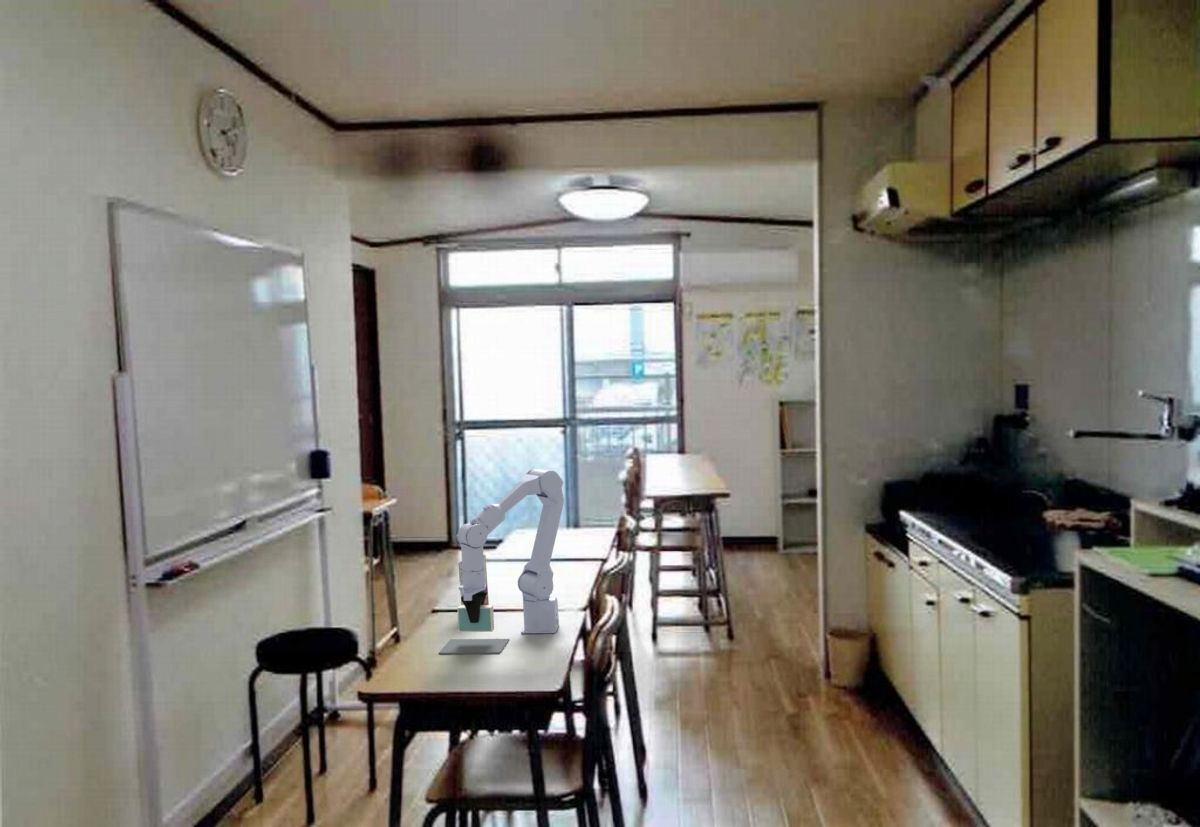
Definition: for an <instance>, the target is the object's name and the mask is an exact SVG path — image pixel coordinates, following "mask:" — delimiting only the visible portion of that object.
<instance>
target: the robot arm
mask: <svg viewBox="0 0 1200 827" xmlns="http://www.w3.org/2000/svg"><path fill="white" fill-rule="evenodd" d="M563 484H564V481H563V479H562V478H561V476H560V475H559V474H558V472H557V471H554V470H547V469H540V468H535V467H534V468H530V469H529V470H528V471H527V472H526V473H524V474H523V475H522V476H521V477H520V479H519V481H518V482H517V483H516V484H515V485H514V486H513V487H511V489H510V490H509V491H508V492H507V493H506V494H505V495H504V496H502V498H500V500H499V501H498V502H497V503H489V504H486V505H484V506H483V507H482V509H483V510H481V512H479V513H478V514H477V515H476V516H475V517H472V518H471V519H470V520H469V521H470V522H467V523H464V524H462V525H461V526H460V528H459V529H458V531H457V534H456V535H455V536H456V539H457V542H458V543H459V544H460V549H461V550H460V551H461V552H460V553H461V561H462V574H463V585H462V586H460V585H459V586H458V591H459V590H463V592H464V593H463V596H462V597H461V596H460V600H462V602H463V604H464V605H465V608H466V610H467V613H468V617H469V620H470V623H478V622H479V616H480V607H481V605H484V601H485V598H486V595H487V593H488V594H489V590H488V591H487V590H485V589H486V585H485V574H484V545H485V543H487V540H488V535H490V534H491V533H492V532H493V531H494V530H495V529H496V528H497V527H498V526H499V525H501V524H502V523H503V522H504V521H505V519H506V513H507V512H508V511H510V510H511V509H512V508H513V507H516V505H517V504H519V503H520V502H522V500H524V499H525V498H526V497H527V496H533V495H536V496H537V498H538V499H539V501H540V502H541V504H542V508H541V512H540V516H539V517H540V518H539V522H538V526H537V530H536V533H535V537H534V538H535V539H534V544H533V547H532V551H531V557H530V560H529V561H528V562H527V563H526V564H525V565H524V567H523V570H522V572H521V573H520V575H519V577H518V578H517V587H518V590H519V591H520V592H521V593H522V594H521V595H522V605H523V606H522V608H523V609H522V610H523V628H522V629H521V630H520V634H555V633H557V630H558V628H559V626H560V620H559V603H558V598H557V597H553V596H551V595H552V594H553V591H554V582H553V580H554V579H553V578H554V571H553V569H552V567H551V561H552V557H553V556H552V555H553V552H554V546H555V543H556V538H557V536H558V535H557V534H558V529H559V525H560V522H561V516H562V511H563V508H564V502H565V501H564V493H563V488H562V487H563Z"/></svg>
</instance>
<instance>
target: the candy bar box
mask: <svg viewBox="0 0 1200 827" xmlns="http://www.w3.org/2000/svg"><path fill="white" fill-rule="evenodd" d="M483 554H484V553H483ZM486 556H487V555H486V553H485V554H484V574H485V585H486V589H485V590H487V591H488V593H487V595H486V598H485V601H484V605H490V603H489V590H488V589H489V588H488V587H489V586H488V573H487V560H486V558H487V557H486ZM458 573H459V574H458V576H459V586H462V585H463V574H462V560H461V561H459V562H458ZM463 593H464V592H463V590H460V598H461V597H462V596H463ZM460 600H461V599H460ZM460 604H461V605H464V604H463V602H462V600H461V601H460Z"/></svg>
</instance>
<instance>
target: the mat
mask: <svg viewBox="0 0 1200 827" xmlns="http://www.w3.org/2000/svg"><path fill="white" fill-rule="evenodd" d="M508 641H509V642H510V638H459V639H457V638H455V639H453V638H451V639H449V641H448V642H447V643H446V644H445V645H444V646H443V647H442V648H441V650H440V651H439V652H438V655H491V654H493V655H495V654H496V655H500V653H501V654H502V652H503V651H504V649H505V648H504V647H506V646H507V645H508V643H509V642H508ZM506 644H507V645H506ZM502 650H503V651H502Z"/></svg>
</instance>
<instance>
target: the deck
mask: <svg viewBox="0 0 1200 827" xmlns="http://www.w3.org/2000/svg"><path fill="white" fill-rule="evenodd" d="M456 611H457V629H458V633H476V632H478V633H488V632H489V633H491V632H493V631H494V630H495V618H494V617H495V615H494V604H489V605H481V607H480V616H479V622H478V623H470V620H469V617H468V613H467V610H466V608H465V605H459V606H457V610H456Z"/></svg>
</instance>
